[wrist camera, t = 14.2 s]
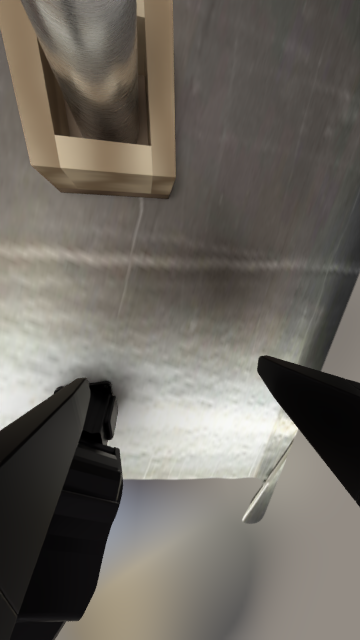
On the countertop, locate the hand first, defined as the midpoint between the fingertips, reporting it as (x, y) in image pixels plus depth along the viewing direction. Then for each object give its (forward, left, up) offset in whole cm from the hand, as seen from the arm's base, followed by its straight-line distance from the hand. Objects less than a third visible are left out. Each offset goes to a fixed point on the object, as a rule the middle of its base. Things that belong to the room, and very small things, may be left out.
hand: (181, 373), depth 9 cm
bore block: (-4, +17, -13) cm, 22 cm away
